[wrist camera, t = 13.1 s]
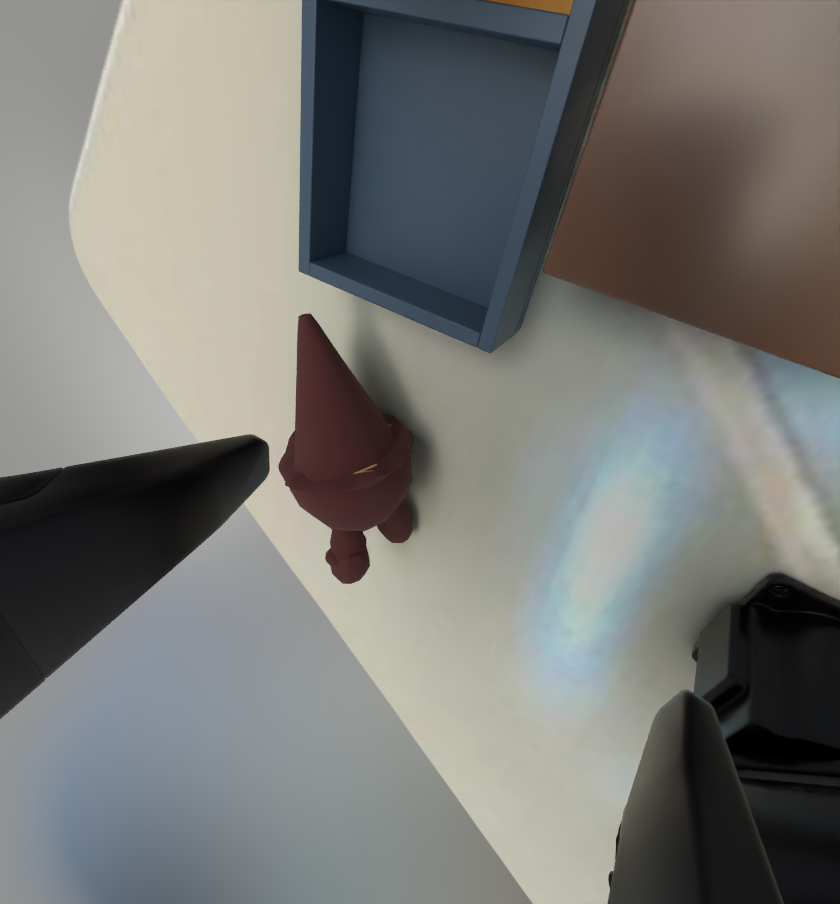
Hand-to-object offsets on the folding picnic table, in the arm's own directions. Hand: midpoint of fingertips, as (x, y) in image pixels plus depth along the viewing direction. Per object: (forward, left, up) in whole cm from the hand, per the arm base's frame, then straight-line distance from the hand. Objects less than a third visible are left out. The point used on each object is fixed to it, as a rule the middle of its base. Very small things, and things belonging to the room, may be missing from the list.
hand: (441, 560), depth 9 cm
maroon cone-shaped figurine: (+9, +9, -13) cm, 18 cm away
